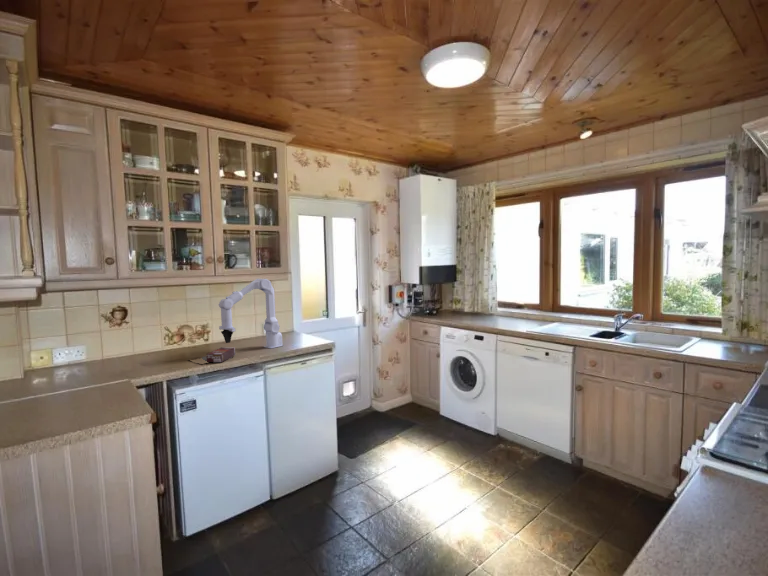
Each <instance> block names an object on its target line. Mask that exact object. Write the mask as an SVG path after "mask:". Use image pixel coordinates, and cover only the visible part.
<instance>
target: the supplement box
mask: <svg viewBox="0 0 768 576" xmlns="http://www.w3.org/2000/svg"><path fill="white" fill-rule="evenodd" d="M206 356H207V362H213V363H223V362H225V361H227V360H230V359H231V358H230V357H235V356H236V349H235V347H220V348H217V349H215V350H213V351H211V352H208V353H206ZM229 358H230V359H229Z"/></svg>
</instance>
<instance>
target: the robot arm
mask: <svg viewBox="0 0 768 576" xmlns="http://www.w3.org/2000/svg"><path fill="white" fill-rule="evenodd" d="M257 289H258V290H261V291H262V292H263V293H265V309H266V311H265V313H266V314H265V315H266V317H265V320H264V324H263V330H264V331H265V338H266V339H265V340H266V342H265V343H266V344H265V345H263V348H266V349H274V348H280V347H283V346H284V345H283V335H282V332H280V324H279V320H278V319H277V318H276V298H275V289H274V287H273V285H272V282H271V280H269V279H267V278H255V280H254V279H253V280H252V281H251V282H250V283H249V284H247V285H246V286H244V287H243V288H242V289H240V290H238V291H237V290H236V291H232V293H230V294H229V295H228V296H225V298H222V299H220V301H219V304H218V306H219V309H220V320H221V322H220V323H221V325H219V326H218V328H219V330H222V331H220V333H221V334H222V336H223V339H224V341H225V344H229V343H231V340H232V335H233V334H234V333H235V332H236V327H234V326H233V314H232V313H233V312H232V308H233V306H234V305H236V304H237V303H238V302H240V301H242V299H243V298H244V296H245V295H247V294H248V293H250V292H251V291H253V290H257Z"/></svg>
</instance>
